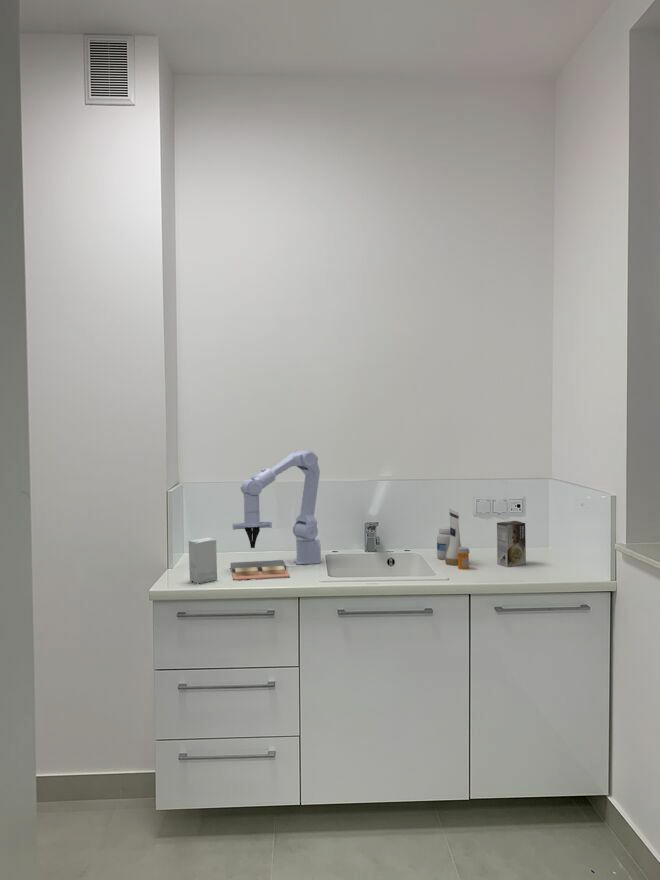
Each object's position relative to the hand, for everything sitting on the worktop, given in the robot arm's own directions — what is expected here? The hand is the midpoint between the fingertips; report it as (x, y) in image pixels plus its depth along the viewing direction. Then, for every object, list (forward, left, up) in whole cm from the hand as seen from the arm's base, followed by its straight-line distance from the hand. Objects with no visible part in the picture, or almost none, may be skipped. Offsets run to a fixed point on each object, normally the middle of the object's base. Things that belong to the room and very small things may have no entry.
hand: (252, 547), depth 263 cm
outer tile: (+3, +8, -8) cm, 12 cm away
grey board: (-2, -1, -9) cm, 9 cm away
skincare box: (+19, +13, -9) cm, 24 cm away
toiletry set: (-77, +6, -9) cm, 78 cm away
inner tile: (-7, +8, -8) cm, 13 cm away
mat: (-2, +10, -9) cm, 13 cm away
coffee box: (-97, +14, -9) cm, 99 cm away
